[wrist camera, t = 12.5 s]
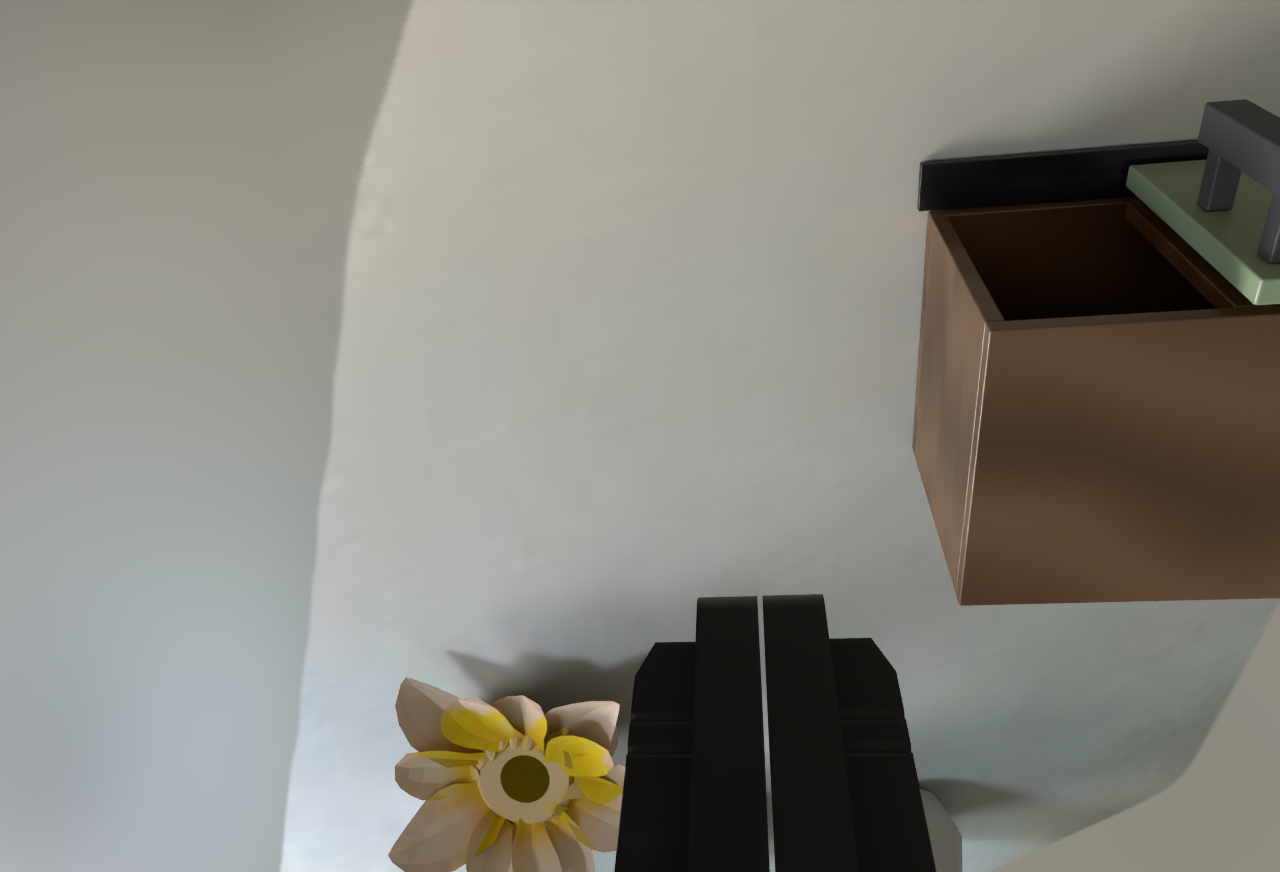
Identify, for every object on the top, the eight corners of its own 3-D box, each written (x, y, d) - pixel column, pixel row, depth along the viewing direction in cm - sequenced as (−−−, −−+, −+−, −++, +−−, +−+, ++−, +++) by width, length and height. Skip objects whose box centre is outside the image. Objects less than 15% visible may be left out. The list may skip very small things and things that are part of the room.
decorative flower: (687, 679, 48) (658, 881, 42) (673, 770, 57) (648, 950, 50) (406, 633, 50) (335, 822, 43) (433, 728, 58) (377, 899, 51)
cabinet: (919, 161, 35) (981, 271, 26) (1351, 127, 33) (1563, 233, 25) (902, 448, 42) (947, 606, 33) (1258, 433, 40) (1398, 595, 32)
